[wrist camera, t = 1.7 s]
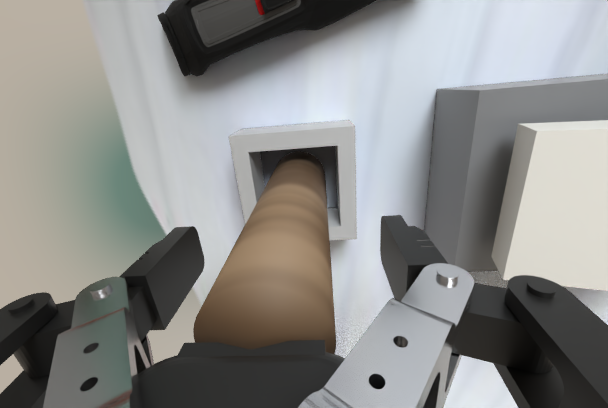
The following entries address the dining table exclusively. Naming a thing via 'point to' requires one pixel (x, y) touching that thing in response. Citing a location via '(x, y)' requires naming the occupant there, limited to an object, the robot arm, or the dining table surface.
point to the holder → (293, 137)
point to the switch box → (491, 155)
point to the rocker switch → (556, 205)
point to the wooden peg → (277, 267)
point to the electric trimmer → (241, 25)
